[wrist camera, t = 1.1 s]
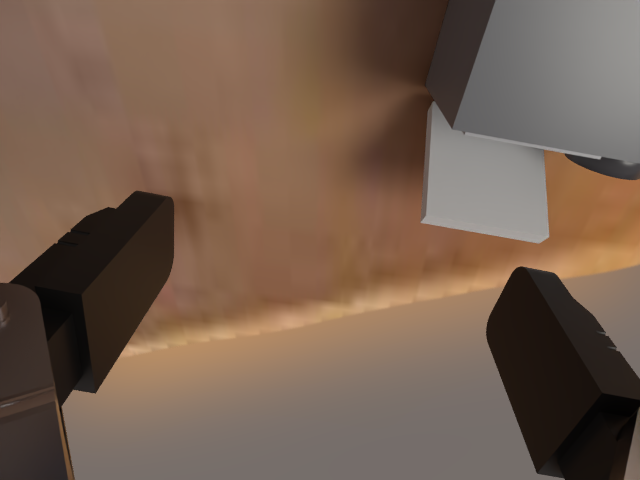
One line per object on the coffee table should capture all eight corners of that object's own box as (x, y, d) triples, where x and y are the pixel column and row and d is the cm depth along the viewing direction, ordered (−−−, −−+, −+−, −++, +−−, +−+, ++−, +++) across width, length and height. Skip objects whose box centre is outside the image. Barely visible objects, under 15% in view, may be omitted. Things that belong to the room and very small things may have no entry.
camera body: (481, -114, 22) (558, -166, 14) (705, -70, 22) (913, -94, 14) (417, 110, 28) (443, 169, 20) (592, 142, 28) (690, 213, 20)
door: (432, 100, 26) (426, 215, 23) (541, 120, 27) (549, 236, 24) (425, 115, 28) (418, 225, 25) (529, 134, 28) (535, 245, 25)
